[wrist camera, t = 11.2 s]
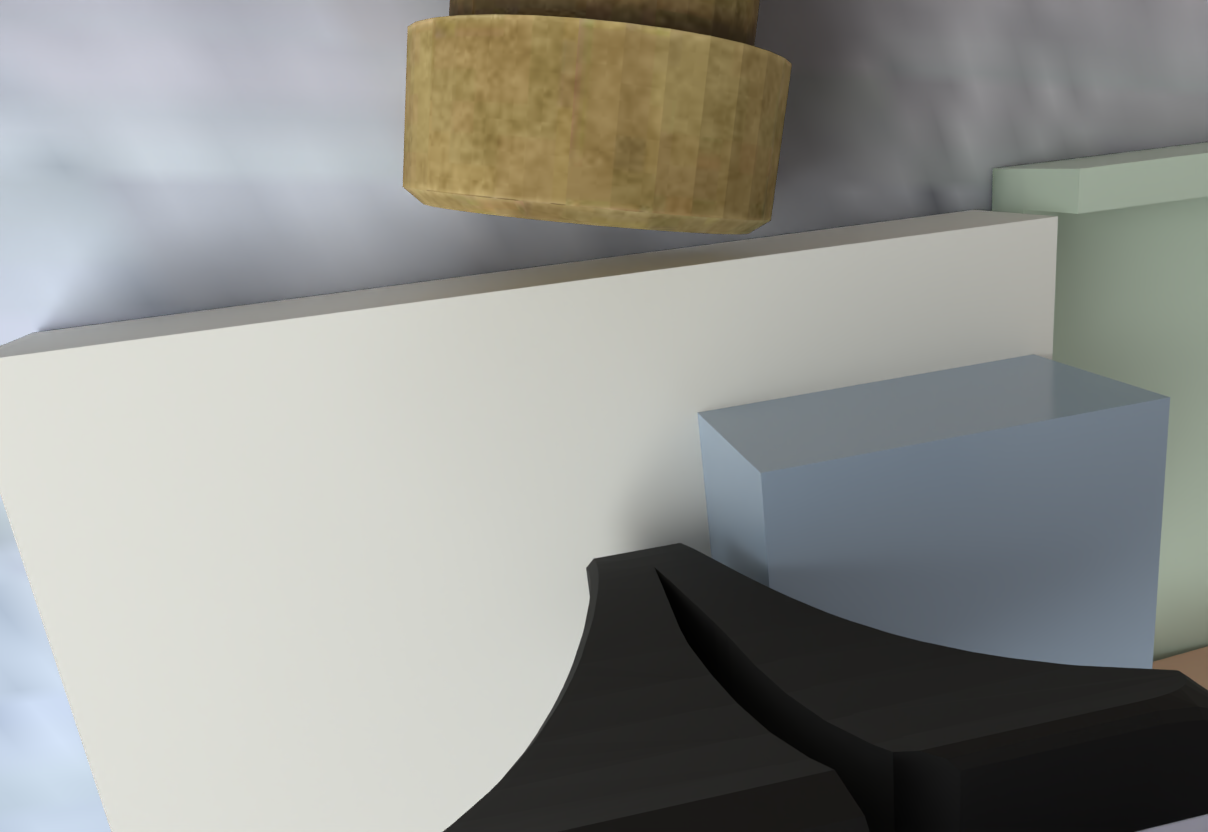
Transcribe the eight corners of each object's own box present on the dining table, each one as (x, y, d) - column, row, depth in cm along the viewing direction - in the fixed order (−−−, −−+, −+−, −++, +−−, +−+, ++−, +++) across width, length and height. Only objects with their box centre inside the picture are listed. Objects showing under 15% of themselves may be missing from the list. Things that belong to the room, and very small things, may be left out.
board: (964, 982, 19) (1023, 1074, 17) (281, 1160, 17) (261, 1288, 15) (974, 210, 14) (1058, 216, 12) (32, 332, 12) (-43, 363, 10)
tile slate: (1027, 657, 14) (1146, 757, 12) (727, 725, 13) (789, 844, 11) (1033, 353, 13) (1170, 397, 10) (696, 412, 12) (761, 472, 10)
